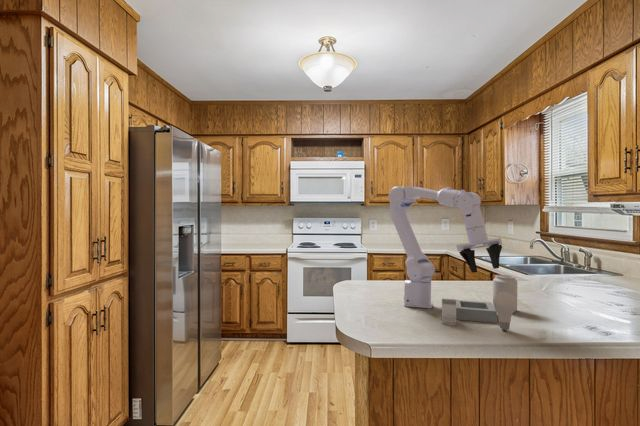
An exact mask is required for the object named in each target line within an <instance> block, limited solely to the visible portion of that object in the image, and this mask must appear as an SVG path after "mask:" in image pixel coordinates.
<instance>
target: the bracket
mask: <svg viewBox="0 0 640 426" xmlns="http://www.w3.org/2000/svg"><path fill="white" fill-rule="evenodd" d="M453 299H454V298H453ZM453 299H452V298H451V299H449V298H441V325H450V326H457V319H456V300H457V299H455V300H453Z"/></svg>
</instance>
